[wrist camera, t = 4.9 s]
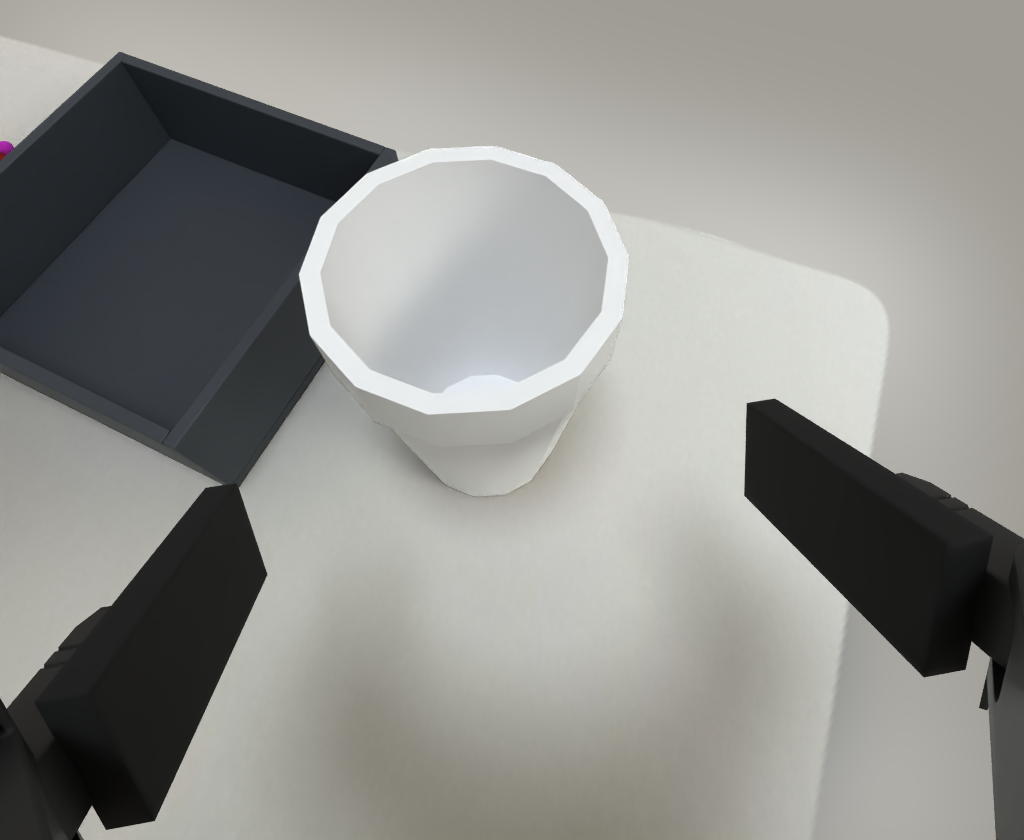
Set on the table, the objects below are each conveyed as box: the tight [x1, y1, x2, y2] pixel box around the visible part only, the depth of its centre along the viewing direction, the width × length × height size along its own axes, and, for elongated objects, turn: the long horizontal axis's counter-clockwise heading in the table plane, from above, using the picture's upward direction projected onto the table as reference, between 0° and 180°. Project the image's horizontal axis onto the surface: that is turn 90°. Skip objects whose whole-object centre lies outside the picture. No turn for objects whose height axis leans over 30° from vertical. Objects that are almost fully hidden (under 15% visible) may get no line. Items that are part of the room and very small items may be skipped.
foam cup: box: [299, 146, 629, 497], centre depth 23 cm, size 10×9×13 cm
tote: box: [0, 52, 398, 487], centre depth 30 cm, size 17×17×6 cm
